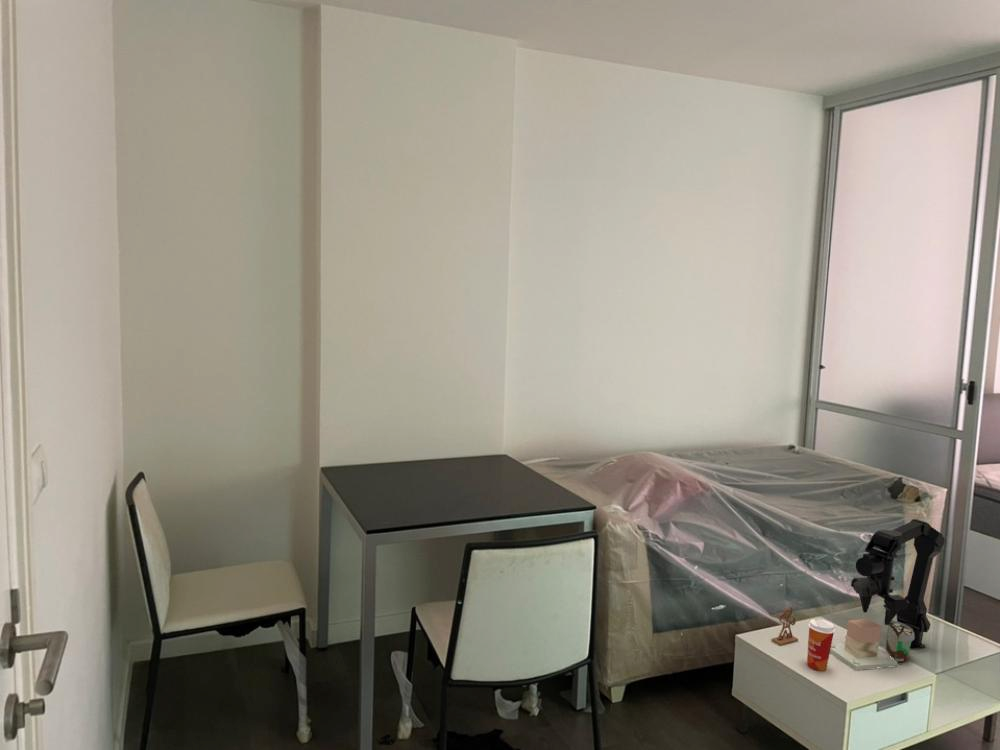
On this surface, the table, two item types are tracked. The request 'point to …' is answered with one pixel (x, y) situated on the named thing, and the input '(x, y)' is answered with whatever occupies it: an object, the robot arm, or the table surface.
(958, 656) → the table surface
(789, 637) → the brown figurine
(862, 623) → the terracotta brick
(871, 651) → the birch brick
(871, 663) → the build plate
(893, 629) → the food container
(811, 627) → the paper cup
